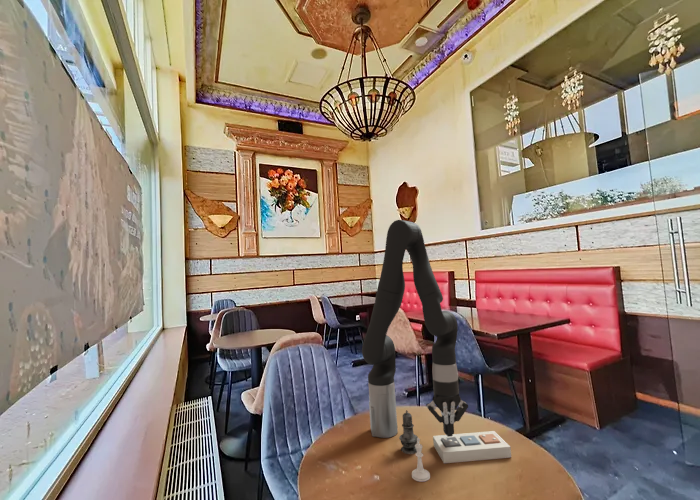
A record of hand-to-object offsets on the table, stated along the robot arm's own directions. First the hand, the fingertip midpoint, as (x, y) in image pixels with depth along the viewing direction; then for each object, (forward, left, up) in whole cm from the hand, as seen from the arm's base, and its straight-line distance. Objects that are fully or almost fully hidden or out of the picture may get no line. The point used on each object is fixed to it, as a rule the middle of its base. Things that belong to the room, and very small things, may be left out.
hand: (448, 435), depth 102 cm
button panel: (+6, 0, -5) cm, 8 cm away
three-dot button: (0, 0, -4) cm, 4 cm away
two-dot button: (+12, 0, -4) cm, 13 cm away
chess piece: (-12, -10, -5) cm, 16 cm away
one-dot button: (+6, 0, -4) cm, 8 cm away
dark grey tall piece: (-12, +4, -5) cm, 13 cm away
